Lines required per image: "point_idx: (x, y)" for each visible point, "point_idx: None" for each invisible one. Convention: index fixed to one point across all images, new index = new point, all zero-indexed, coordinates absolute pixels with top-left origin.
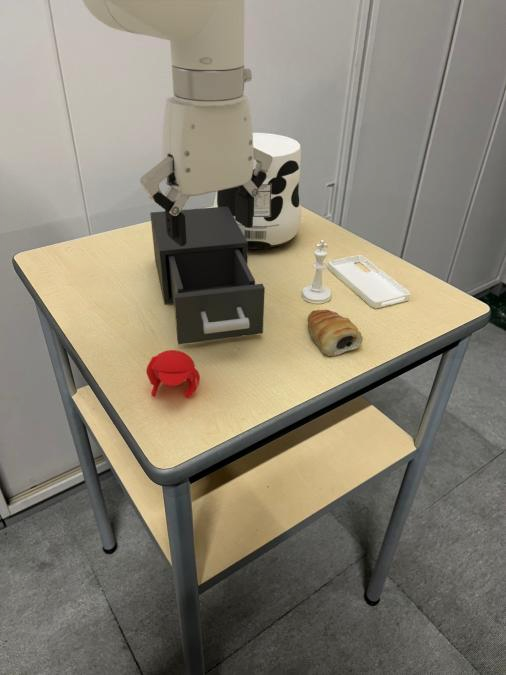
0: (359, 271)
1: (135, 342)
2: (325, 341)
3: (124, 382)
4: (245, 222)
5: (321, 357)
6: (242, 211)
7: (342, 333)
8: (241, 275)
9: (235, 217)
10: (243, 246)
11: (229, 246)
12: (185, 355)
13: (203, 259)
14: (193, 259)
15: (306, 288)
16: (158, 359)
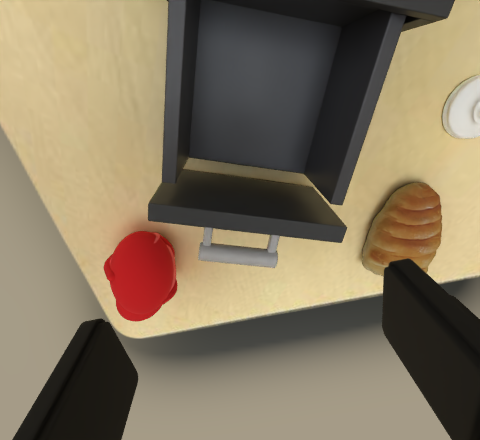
0: None
1: (101, 130)
2: (372, 265)
3: (83, 219)
4: (391, 334)
5: (355, 257)
6: (415, 353)
7: None
8: (344, 115)
9: (390, 275)
10: (425, 18)
11: (382, 7)
12: (156, 291)
13: None
14: None
15: (472, 92)
16: (115, 289)
